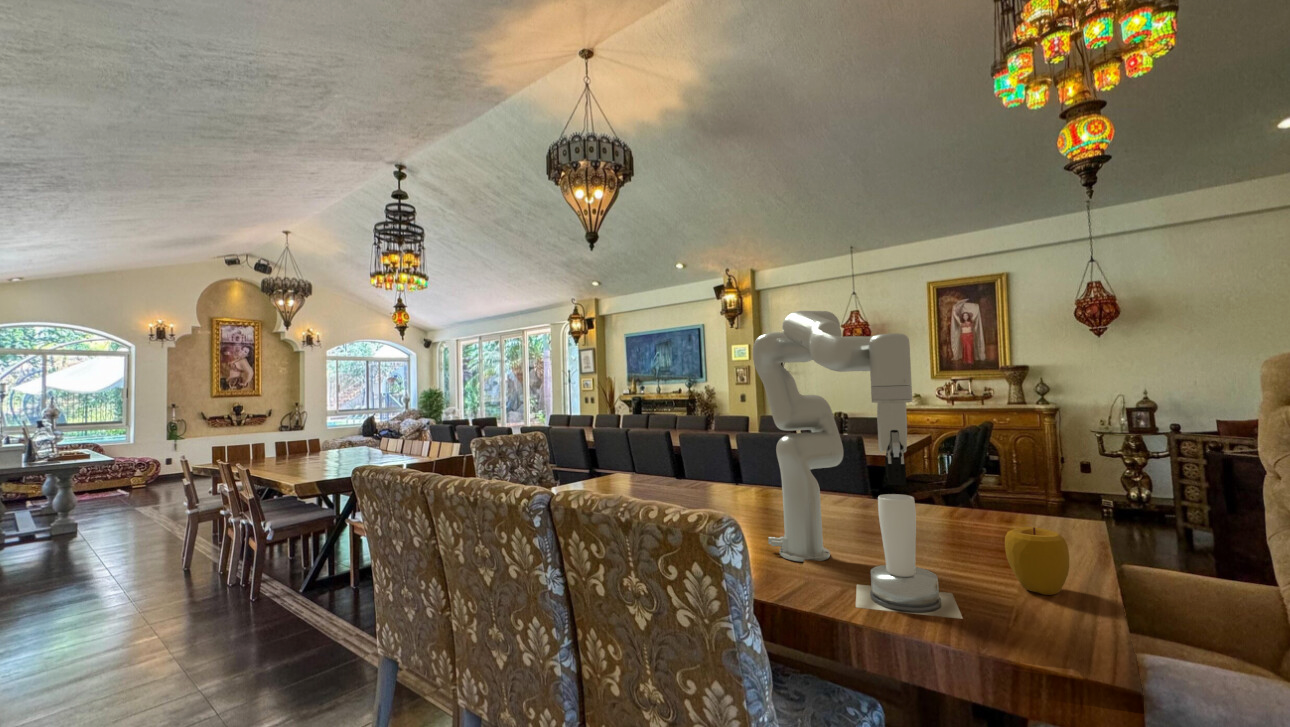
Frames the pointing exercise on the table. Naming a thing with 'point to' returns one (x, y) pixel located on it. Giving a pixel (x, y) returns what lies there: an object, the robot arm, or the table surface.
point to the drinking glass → (898, 533)
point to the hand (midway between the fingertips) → (895, 480)
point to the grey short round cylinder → (905, 590)
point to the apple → (1038, 559)
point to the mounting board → (946, 610)
